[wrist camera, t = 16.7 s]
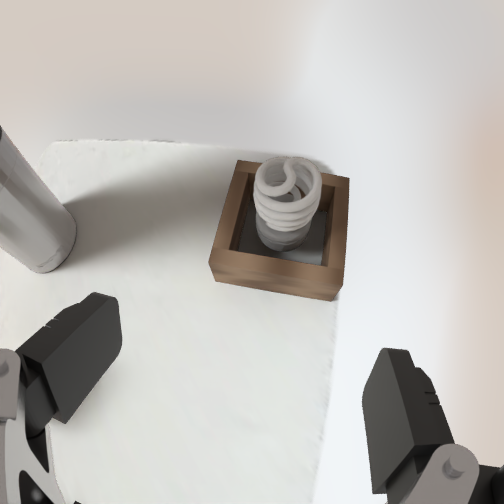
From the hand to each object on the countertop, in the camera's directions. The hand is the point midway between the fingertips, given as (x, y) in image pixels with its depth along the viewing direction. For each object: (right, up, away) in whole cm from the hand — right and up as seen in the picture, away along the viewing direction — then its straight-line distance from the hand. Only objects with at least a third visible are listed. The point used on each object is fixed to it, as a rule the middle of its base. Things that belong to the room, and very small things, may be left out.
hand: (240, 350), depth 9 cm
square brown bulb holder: (+4, +4, +26) cm, 26 cm away
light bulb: (+3, +4, +26) cm, 26 cm away
